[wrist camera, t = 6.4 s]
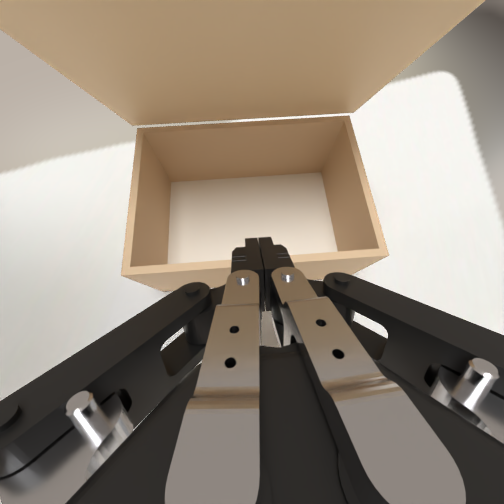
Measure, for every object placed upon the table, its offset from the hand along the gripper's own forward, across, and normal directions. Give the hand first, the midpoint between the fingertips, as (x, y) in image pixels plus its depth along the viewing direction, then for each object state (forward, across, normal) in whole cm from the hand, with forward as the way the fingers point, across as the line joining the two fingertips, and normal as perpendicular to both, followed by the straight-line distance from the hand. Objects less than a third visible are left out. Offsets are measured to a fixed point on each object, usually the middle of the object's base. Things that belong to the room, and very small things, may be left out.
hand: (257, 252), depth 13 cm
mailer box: (+14, 0, +3) cm, 14 cm away
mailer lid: (+6, 0, -9) cm, 11 cm away
